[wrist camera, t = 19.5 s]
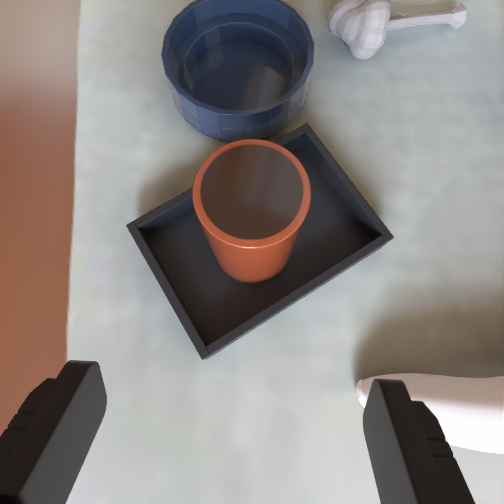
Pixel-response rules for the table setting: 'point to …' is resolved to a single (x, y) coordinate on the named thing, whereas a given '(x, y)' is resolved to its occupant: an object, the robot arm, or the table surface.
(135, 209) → the table surface
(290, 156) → the cup
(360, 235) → the tray
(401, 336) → the table surface
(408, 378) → the banana
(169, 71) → the bowl
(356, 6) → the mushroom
